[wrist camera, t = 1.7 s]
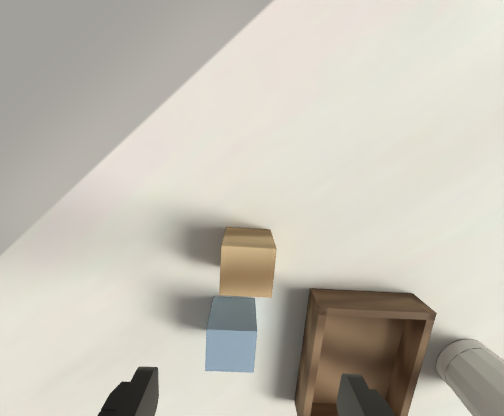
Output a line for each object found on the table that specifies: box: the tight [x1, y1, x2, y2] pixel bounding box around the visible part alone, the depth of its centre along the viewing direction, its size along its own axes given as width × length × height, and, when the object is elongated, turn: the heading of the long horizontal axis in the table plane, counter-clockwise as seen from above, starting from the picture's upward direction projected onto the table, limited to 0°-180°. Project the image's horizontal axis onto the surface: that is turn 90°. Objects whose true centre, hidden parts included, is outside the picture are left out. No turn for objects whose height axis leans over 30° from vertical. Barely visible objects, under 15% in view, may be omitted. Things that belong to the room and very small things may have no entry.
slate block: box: [205, 296, 257, 372], centre depth 24 cm, size 4×4×5 cm
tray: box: [295, 289, 436, 416], centre depth 26 cm, size 16×12×3 cm
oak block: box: [219, 227, 276, 298], centre depth 22 cm, size 4×4×5 cm
